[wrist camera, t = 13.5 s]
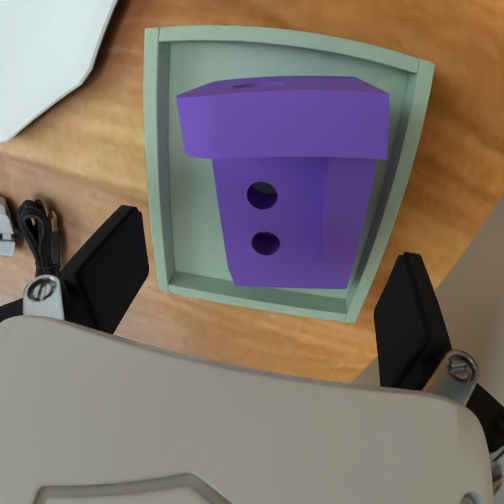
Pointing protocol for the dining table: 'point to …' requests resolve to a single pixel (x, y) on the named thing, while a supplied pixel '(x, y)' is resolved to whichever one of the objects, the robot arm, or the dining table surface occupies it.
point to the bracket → (289, 171)
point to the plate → (46, 54)
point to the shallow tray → (204, 190)
